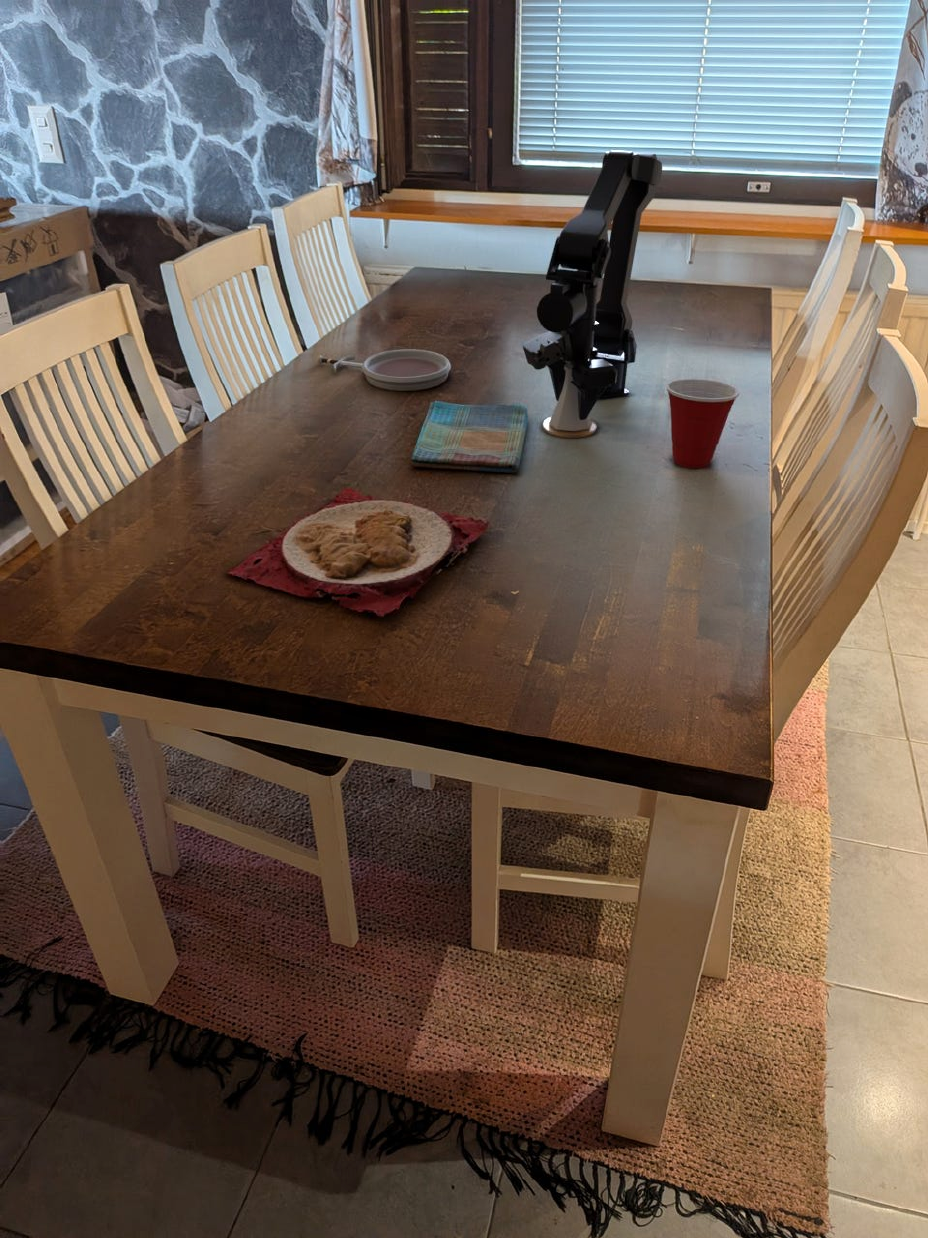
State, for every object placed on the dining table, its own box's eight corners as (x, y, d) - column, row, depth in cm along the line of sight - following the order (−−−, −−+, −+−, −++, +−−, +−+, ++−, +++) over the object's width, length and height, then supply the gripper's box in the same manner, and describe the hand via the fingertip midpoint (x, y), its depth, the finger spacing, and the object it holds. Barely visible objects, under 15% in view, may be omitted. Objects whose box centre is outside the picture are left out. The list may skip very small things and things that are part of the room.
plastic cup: (730, 451, 145) (743, 378, 138) (723, 479, 136) (737, 402, 130) (662, 442, 148) (671, 370, 141) (651, 469, 139) (660, 393, 132)
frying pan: (336, 339, 185) (464, 352, 176) (337, 353, 186) (464, 367, 178) (293, 365, 172) (429, 381, 163) (295, 380, 173) (430, 397, 165)
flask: (545, 416, 156) (548, 359, 150) (587, 415, 156) (591, 357, 150) (552, 433, 150) (555, 373, 144) (595, 431, 150) (600, 372, 144)
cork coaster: (581, 414, 158) (582, 411, 157) (605, 433, 151) (606, 430, 150) (534, 421, 155) (534, 418, 155) (556, 441, 148) (556, 438, 148)
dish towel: (529, 416, 157) (529, 402, 155) (520, 474, 138) (520, 459, 136) (430, 412, 159) (430, 398, 157) (408, 469, 139) (407, 454, 138)
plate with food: (490, 534, 123) (491, 511, 121) (385, 624, 104) (383, 599, 102) (346, 497, 133) (345, 475, 131) (226, 573, 114) (222, 549, 112)
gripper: (507, 304, 147) (504, 397, 156) (555, 337, 133) (549, 437, 142) (569, 297, 151) (563, 389, 159) (623, 329, 136) (613, 427, 145)
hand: (570, 409), depth 151 cm, fingers open, 8 cm apart
